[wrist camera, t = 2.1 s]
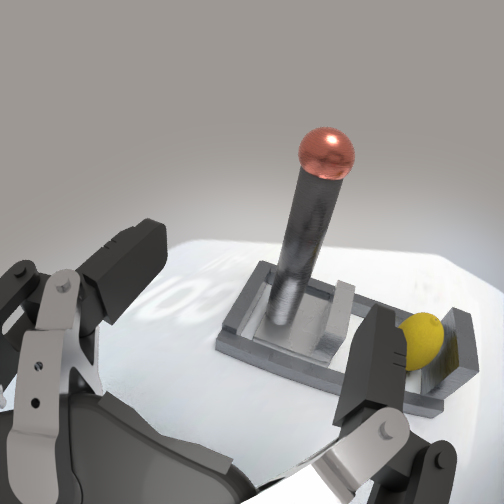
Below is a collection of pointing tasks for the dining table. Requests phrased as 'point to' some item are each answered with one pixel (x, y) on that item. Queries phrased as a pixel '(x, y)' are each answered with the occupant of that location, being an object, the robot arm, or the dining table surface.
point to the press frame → (427, 404)
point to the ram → (310, 257)
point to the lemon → (422, 339)
